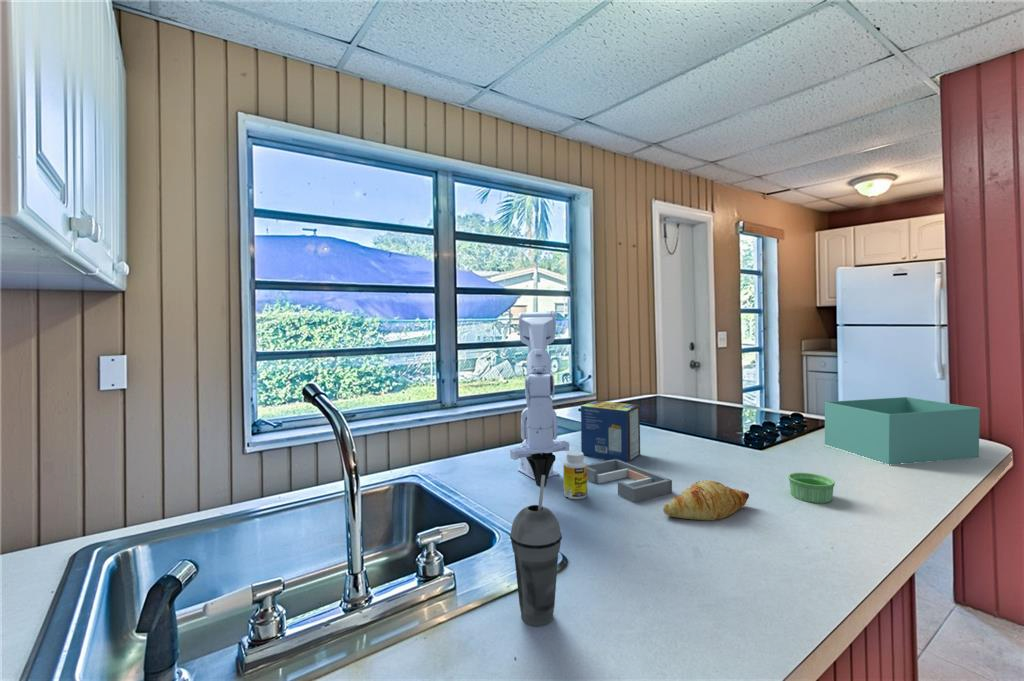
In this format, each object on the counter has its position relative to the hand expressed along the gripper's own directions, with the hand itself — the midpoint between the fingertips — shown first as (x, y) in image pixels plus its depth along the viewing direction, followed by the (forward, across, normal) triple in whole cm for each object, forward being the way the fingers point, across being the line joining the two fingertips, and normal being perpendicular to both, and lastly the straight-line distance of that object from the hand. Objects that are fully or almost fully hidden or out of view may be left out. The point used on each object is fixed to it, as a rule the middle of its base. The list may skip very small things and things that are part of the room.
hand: (541, 485), depth 105 cm
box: (+4, +115, -20) cm, 117 cm away
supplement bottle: (+4, +10, 0) cm, 11 cm away
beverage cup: (+4, -21, -34) cm, 40 cm away
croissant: (+5, +28, -21) cm, 36 cm away
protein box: (+4, +39, +22) cm, 45 cm away
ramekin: (+4, +56, -28) cm, 62 cm away
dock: (+4, +25, 0) cm, 25 cm away
